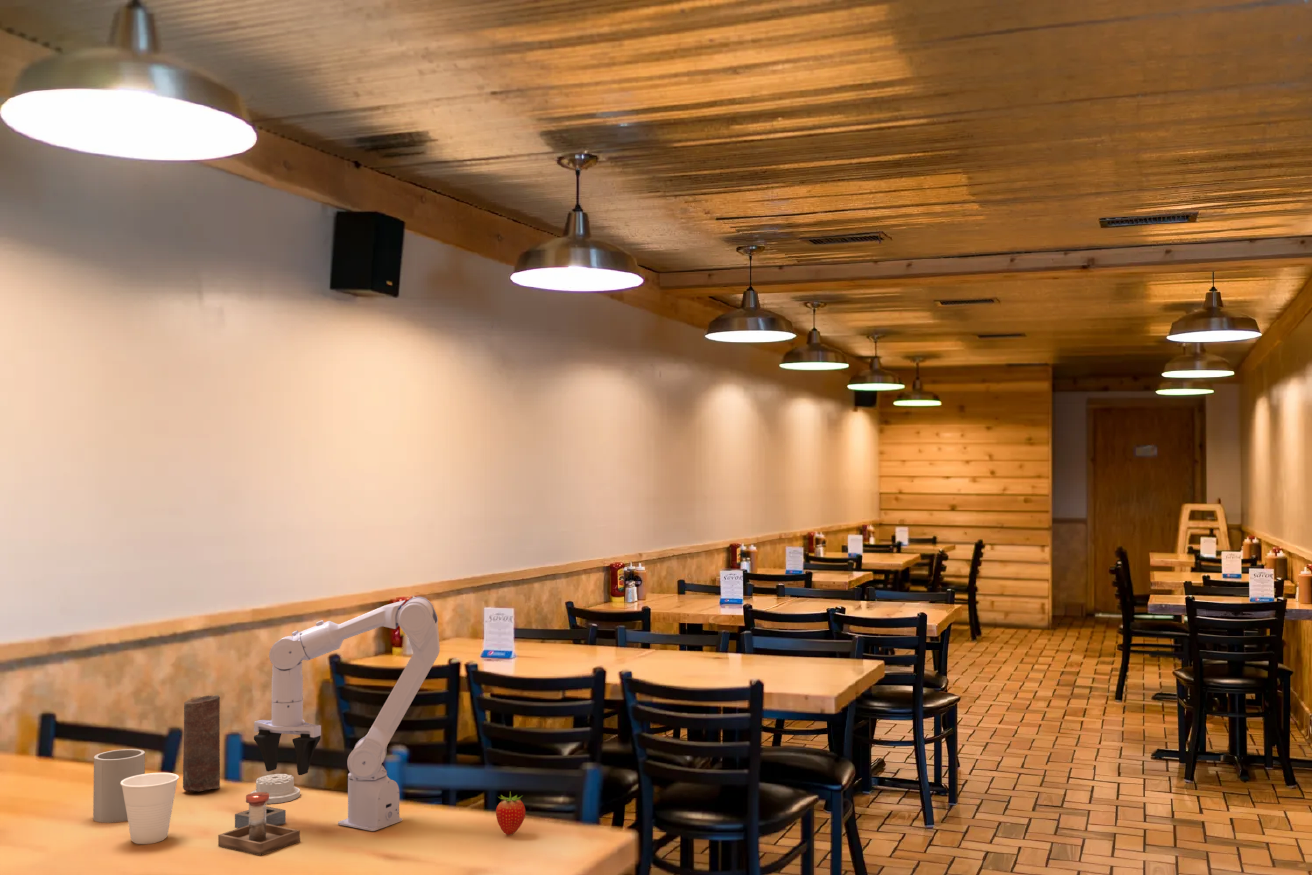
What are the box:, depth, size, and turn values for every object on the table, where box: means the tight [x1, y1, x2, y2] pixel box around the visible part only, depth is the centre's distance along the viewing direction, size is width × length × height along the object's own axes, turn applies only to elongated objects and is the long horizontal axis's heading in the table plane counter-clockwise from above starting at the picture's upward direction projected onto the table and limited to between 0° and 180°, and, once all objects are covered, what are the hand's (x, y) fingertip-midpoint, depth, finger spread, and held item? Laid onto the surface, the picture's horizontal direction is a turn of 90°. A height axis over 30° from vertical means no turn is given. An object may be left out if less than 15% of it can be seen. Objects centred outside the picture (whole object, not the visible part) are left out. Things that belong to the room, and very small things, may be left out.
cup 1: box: [92, 748, 146, 824], centre depth 227 cm, size 9×9×12 cm
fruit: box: [495, 791, 526, 836], centre depth 212 cm, size 5×5×8 cm
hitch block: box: [234, 805, 287, 829], centre depth 219 cm, size 6×6×2 cm
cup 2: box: [120, 772, 180, 845], centre depth 211 cm, size 10×10×11 cm
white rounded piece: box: [249, 773, 301, 805], centre depth 239 cm, size 10×4×10 cm
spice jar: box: [245, 792, 269, 842], centre depth 209 cm, size 4×4×8 cm
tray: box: [217, 824, 301, 856], centre depth 208 cm, size 11×9×2 cm
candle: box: [182, 694, 221, 793], centre depth 245 cm, size 8×7×20 cm
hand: (287, 772), depth 219 cm, fingers open, 7 cm apart
